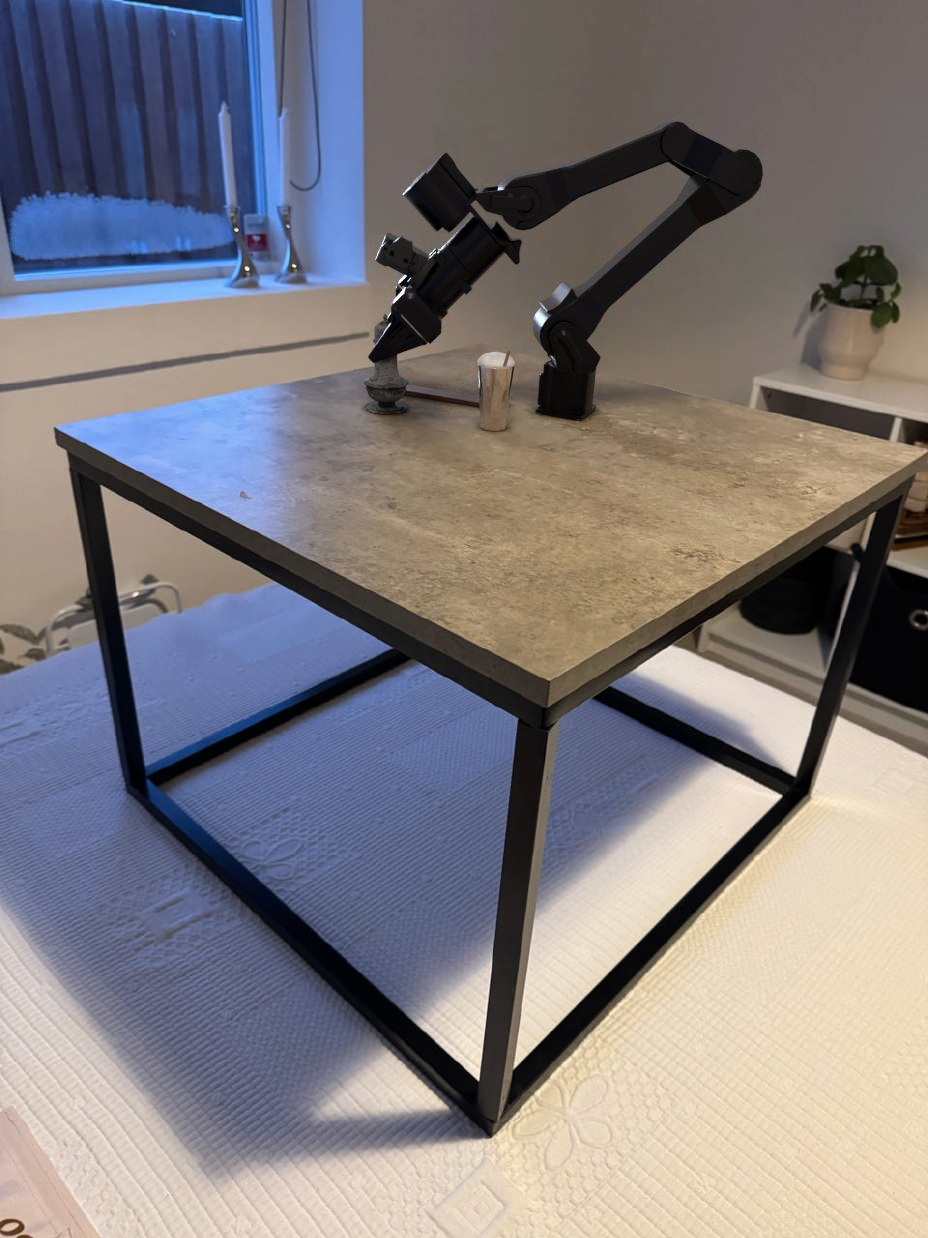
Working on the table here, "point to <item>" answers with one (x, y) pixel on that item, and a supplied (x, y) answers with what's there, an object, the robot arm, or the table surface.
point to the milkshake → (494, 389)
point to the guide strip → (442, 395)
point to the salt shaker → (385, 381)
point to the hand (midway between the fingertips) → (373, 351)
